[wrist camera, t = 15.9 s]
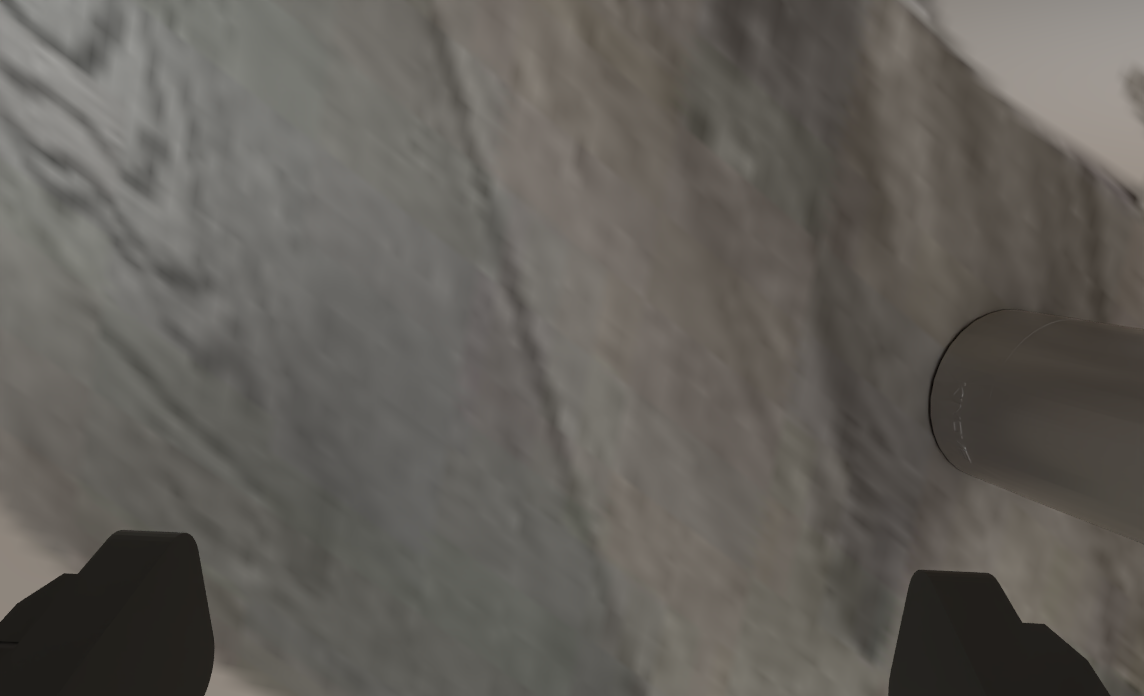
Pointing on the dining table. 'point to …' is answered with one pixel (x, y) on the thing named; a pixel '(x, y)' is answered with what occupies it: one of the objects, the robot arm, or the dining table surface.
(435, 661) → the dining table surface
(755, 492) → the dining table surface
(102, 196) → the dining table surface
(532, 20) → the dining table surface
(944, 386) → the robot arm
